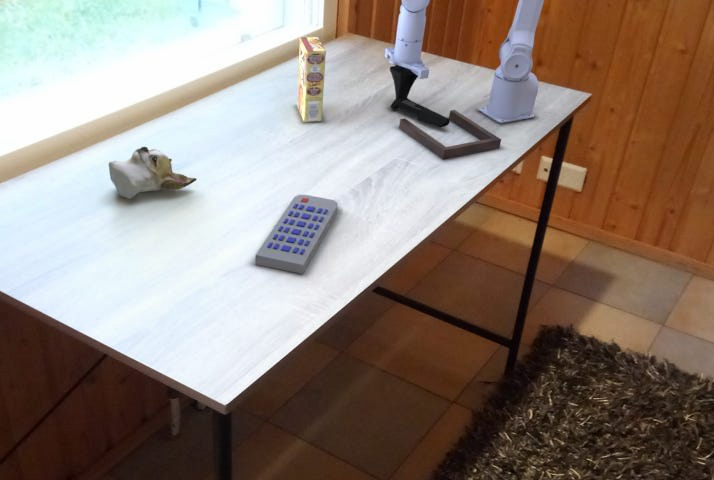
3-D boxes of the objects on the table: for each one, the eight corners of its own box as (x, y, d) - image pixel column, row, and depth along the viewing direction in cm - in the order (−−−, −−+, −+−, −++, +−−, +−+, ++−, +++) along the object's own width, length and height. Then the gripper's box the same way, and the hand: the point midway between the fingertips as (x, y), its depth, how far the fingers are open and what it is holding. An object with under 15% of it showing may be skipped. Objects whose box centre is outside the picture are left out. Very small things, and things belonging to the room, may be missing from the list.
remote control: (254, 265, 130) (255, 253, 128) (297, 200, 147) (298, 189, 145) (302, 275, 128) (303, 263, 126) (340, 208, 145) (341, 197, 143)
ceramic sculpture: (95, 142, 143) (170, 128, 151) (97, 187, 148) (169, 171, 156) (122, 166, 137) (199, 150, 144) (123, 212, 142) (197, 195, 149)
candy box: (322, 122, 174) (327, 50, 165) (302, 122, 174) (306, 51, 165) (314, 105, 181) (318, 36, 172) (295, 106, 181) (299, 36, 172)
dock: (452, 118, 178) (454, 109, 176) (499, 148, 166) (501, 139, 165) (398, 127, 173) (400, 119, 172) (442, 159, 161) (444, 150, 160)
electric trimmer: (439, 134, 171) (442, 120, 169) (388, 108, 181) (390, 95, 179) (452, 130, 173) (454, 116, 171) (401, 105, 183) (403, 91, 181)
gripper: (375, 29, 177) (369, 90, 186) (412, 51, 167) (403, 114, 175) (403, 26, 180) (395, 86, 188) (441, 47, 169) (431, 109, 178)
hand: (401, 99), depth 182 cm, fingers closed
